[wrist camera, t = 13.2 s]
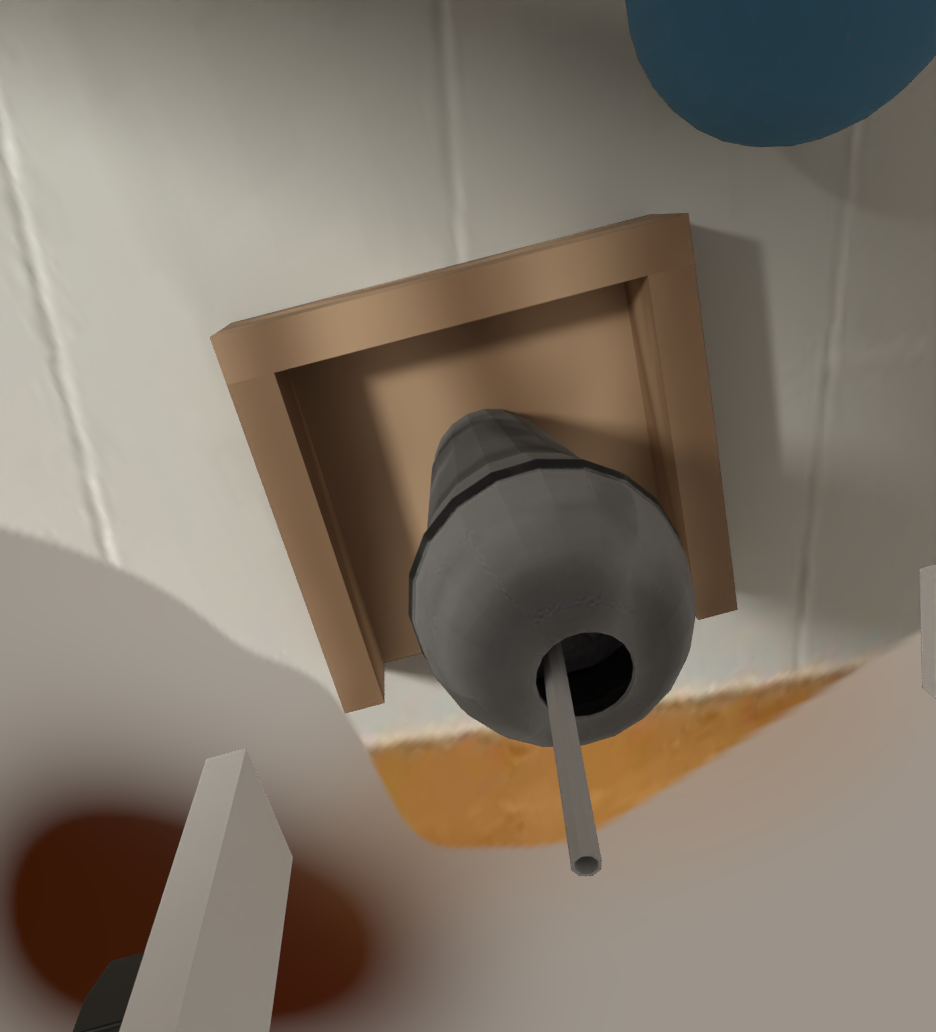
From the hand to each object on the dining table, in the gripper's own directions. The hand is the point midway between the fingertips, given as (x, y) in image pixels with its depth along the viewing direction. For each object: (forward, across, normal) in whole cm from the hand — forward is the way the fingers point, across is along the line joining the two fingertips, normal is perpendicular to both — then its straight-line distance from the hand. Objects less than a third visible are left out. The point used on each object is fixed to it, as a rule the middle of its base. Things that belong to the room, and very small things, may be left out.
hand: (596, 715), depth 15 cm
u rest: (+18, 0, 0) cm, 18 cm away
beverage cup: (+17, 0, 0) cm, 17 cm away
